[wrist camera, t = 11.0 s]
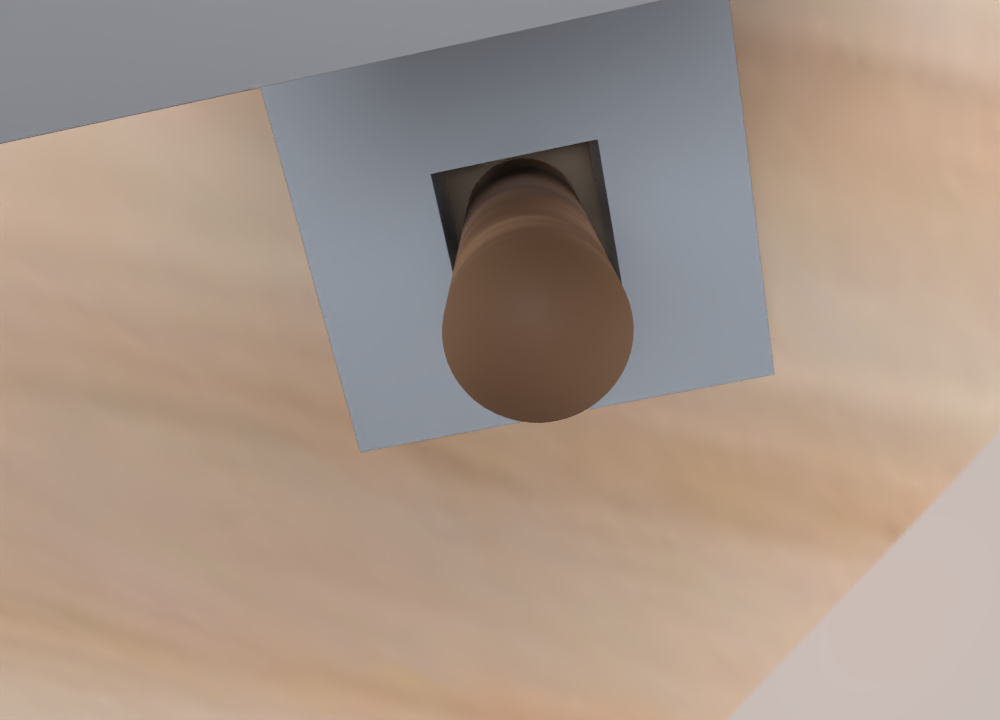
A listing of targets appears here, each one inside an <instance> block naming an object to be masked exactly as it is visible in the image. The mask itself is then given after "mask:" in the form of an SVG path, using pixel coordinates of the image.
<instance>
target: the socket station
mask: <svg viewBox="0 0 1000 720" xmlns="http://www.w3.org/2000/svg"><path fill="white" fill-rule="evenodd" d="M256 88H261V91H262V95H263V98H264V102H265V106H266V109H267V113H268V117H269V120H270V124H271V128H272V131H273V135H274V139H275V142H276V146H277V150H278V153H279V157H280V161H281V164H282V168H283V172H284V175H285V179H286V183H287V186H288V190H289V193H290V197H291V201H292V204H293V208H294V212H295V215H296V219H297V223H298V226H299V230H300V234H301V237H302V241H303V245H304V248H305V252H306V256H307V259H308V263H309V267H310V270H311V274H312V278H313V281H314V285H315V289H316V292H317V296H318V300H319V303H320V307H321V310H322V314H323V318H324V321H325V325H326V329H327V332H328V336H329V340H330V343H331V347H332V351H333V354H334V358H335V362H336V365H337V369H338V373H339V376H340V380H341V384H342V387H343V391H344V395H345V398H346V402H347V406H348V409H349V413H350V416H351V420H352V424H353V427H354V431H355V435H356V438H357V442H358V446H359V449H360V452H365V451H370V450H375V449H381V448H386V447H391V446H396V445H402V444H407V443H412V442H418V441H423V440H428V439H434V438H439V437H444V436H450V435H455V434H460V433H466V432H471V431H476V430H481V429H487V428H492V427H497V426H503V425H508V424H513V423H519V422H522V421H516V420H512V419H508V418H505V417H503V416H500V415H497V414H495V413H493V412H491V411H489V410H488V409H486V408H484V407H483V406H481V405H480V404H479V403H477V402H476V401H475V400H473V399H472V398H471V397H470V396H469V395H468V394H467V393H466V392H465V391H464V389H463V388H462V387H461V386H460V385H459V383H458V382H457V380H456V378H455V377H454V375H453V374H452V372H451V369H450V367H449V365H448V363H447V359H446V356H445V353H444V348H443V341H442V323H443V315H444V310H445V306H446V301H447V297H448V292H449V288H450V284H451V279H452V275H453V270H454V266H455V261H456V257H457V252H458V248H459V242H458V237H457V233H456V228H455V224H454V219H453V215H452V210H451V206H450V201H449V197H448V192H447V188H446V183H445V178H444V174H443V171H447V170H452V169H457V168H462V167H466V166H471V165H476V164H481V163H486V162H491V161H495V160H500V159H505V158H510V157H515V156H519V155H524V154H529V153H534V152H539V151H544V150H548V149H553V148H558V147H563V146H568V145H572V144H577V143H582V142H587V141H588V144H589V150H590V156H591V161H592V167H593V173H594V179H595V185H596V190H597V196H598V202H599V208H600V214H601V220H602V225H603V231H604V237H605V243H606V249H607V254H608V259H609V261H610V263H611V264H612V266H613V268H614V270H615V272H616V274H617V276H618V278H619V280H620V282H621V284H622V286H623V288H624V290H625V292H626V295H627V297H628V300H629V303H630V306H631V310H632V315H633V324H634V334H633V344H632V349H631V353H630V356H629V359H628V362H627V365H626V367H625V369H624V371H623V373H622V375H621V376H620V378H619V379H618V381H617V382H616V384H615V385H614V386H613V387H612V389H611V390H610V391H609V392H608V393H607V394H606V395H605V396H604V397H603V398H602V399H601V400H599V401H598V402H597V403H595V404H594V405H593V406H591V407H590V408H588V409H593V408H598V407H604V406H609V405H614V404H620V403H625V402H630V401H635V400H641V399H646V398H651V397H657V396H662V395H667V394H673V393H678V392H683V391H689V390H694V389H699V388H705V387H710V386H715V385H720V384H726V383H731V382H736V381H742V380H747V379H752V378H758V377H763V376H768V375H774V368H773V360H772V351H771V343H770V335H769V327H768V318H767V310H766V302H765V293H764V285H763V277H762V268H761V260H760V252H759V244H758V235H757V227H756V219H755V210H754V202H753V194H752V186H751V177H750V169H749V161H748V152H747V144H746V136H745V127H744V119H743V111H742V103H741V94H740V86H739V78H738V69H737V61H736V53H735V45H734V36H733V28H732V20H731V11H730V3H729V0H0V144H2V143H7V142H11V141H16V140H21V139H25V138H30V137H34V136H39V135H44V134H48V133H53V132H58V131H62V130H67V129H71V128H76V127H81V126H85V125H90V124H95V123H99V122H104V121H108V120H113V119H118V118H122V117H127V116H131V115H136V114H141V113H145V112H150V111H155V110H159V109H164V108H168V107H173V106H178V105H182V104H187V103H192V102H196V101H201V100H205V99H210V98H215V97H219V96H224V95H229V94H233V93H238V92H242V91H247V90H252V89H256ZM588 409H586V410H588Z"/></svg>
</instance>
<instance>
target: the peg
mask: <svg viewBox="0 0 1000 720" xmlns="http://www.w3.org/2000/svg"><path fill="white" fill-rule="evenodd" d="M633 334H634V324H633V315H632V310H631V306H630V303H629V300H628V297H627V295H626V292H625V290H624V288H623V286H622V284H621V282H620V280H619V278H618V276H617V274H616V272H615V270H614V268H613V266H612V264H611V263H610V261H609V259H608V257H607V255H606V253H605V251H604V249H603V247H602V245H601V243H600V241H599V239H598V237H597V235H596V233H595V231H594V229H593V227H592V225H591V223H590V221H589V219H588V217H587V215H586V213H585V211H584V209H583V207H582V205H581V203H580V201H579V199H578V197H577V195H576V193H575V191H574V190H573V188H572V186H571V184H570V183H569V181H568V180H567V179H566V177H565V176H564V175H563V174H562V173H561V172H559V171H558V170H557V169H556V168H554V167H553V166H551V165H549V164H547V163H545V162H542V161H539V160H535V159H528V158H519V159H512V160H508V161H505V162H503V163H500V164H498V165H496V166H495V167H493V168H491V169H490V170H489V171H488V172H486V173H485V174H484V175H483V176H482V177H481V178H480V180H479V181H478V182H477V184H476V186H475V187H474V189H473V191H472V194H471V196H470V200H469V203H468V208H467V212H466V217H465V221H464V226H463V230H462V235H461V239H460V243H459V248H458V252H457V257H456V261H455V266H454V270H453V275H452V279H451V284H450V288H449V292H448V297H447V301H446V306H445V310H444V315H443V323H442V341H443V348H444V353H445V356H446V359H447V363H448V365H449V367H450V369H451V372H452V374H453V375H454V377H455V378H456V380H457V382H458V383H459V385H460V386H461V387H462V388H463V389H464V391H465V392H466V393H467V394H468V395H469V396H470V397H471V398H472V399H473V400H475V401H476V402H477V403H479V404H480V405H481V406H483V407H484V408H486V409H488V410H489V411H491V412H493V413H495V414H497V415H500V416H503V417H505V418H508V419H512V420H516V421H522V422H530V423H543V422H551V421H557V420H561V419H565V418H568V417H571V416H574V415H576V414H579V413H581V412H582V411H584V410H586V409H588V408H590V407H591V406H593V405H594V404H595V403H597V402H598V401H599V400H601V399H602V398H603V397H604V396H605V395H606V394H607V393H608V392H609V391H610V390H611V389H612V387H613V386H614V385H615V384H616V382H617V381H618V379H619V378H620V376H621V375H622V373H623V371H624V369H625V367H626V365H627V362H628V359H629V356H630V353H631V349H632V344H633Z"/></svg>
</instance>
